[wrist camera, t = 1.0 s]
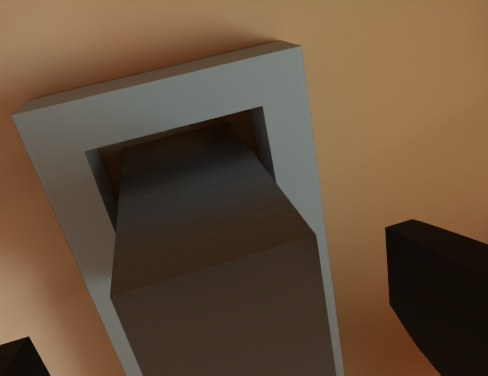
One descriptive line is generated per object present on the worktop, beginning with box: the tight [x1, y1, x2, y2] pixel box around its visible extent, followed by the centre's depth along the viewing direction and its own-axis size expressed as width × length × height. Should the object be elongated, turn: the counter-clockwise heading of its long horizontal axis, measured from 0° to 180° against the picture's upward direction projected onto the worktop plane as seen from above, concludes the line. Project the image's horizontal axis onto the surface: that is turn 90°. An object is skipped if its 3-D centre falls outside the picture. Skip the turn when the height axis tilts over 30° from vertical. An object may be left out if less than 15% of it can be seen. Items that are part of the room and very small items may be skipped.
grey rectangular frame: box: [11, 40, 345, 376], centre depth 17 cm, size 8×22×2 cm, turn 11°
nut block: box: [110, 121, 336, 376], centre depth 12 cm, size 4×4×8 cm
